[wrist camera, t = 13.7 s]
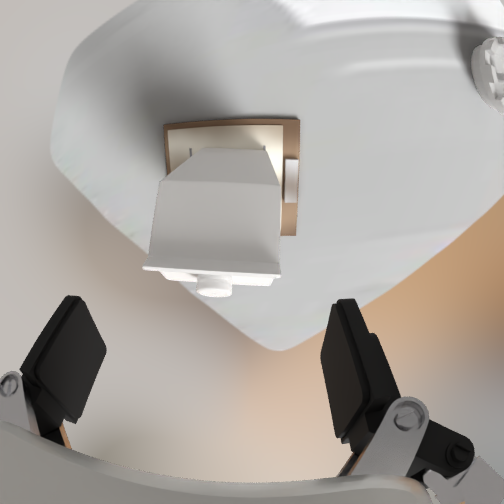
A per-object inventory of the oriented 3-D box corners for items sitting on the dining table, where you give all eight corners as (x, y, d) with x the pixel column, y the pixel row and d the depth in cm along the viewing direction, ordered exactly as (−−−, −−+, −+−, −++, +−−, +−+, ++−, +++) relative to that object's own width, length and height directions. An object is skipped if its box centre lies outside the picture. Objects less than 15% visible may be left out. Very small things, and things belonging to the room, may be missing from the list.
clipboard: (165, 124, 28) (161, 125, 27) (299, 119, 28) (301, 119, 27) (176, 235, 34) (173, 240, 33) (294, 233, 34) (296, 238, 33)
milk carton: (202, 147, 28) (134, 202, 12) (267, 150, 29) (290, 208, 12) (201, 207, 32) (151, 318, 15) (262, 210, 32) (273, 327, 15)
